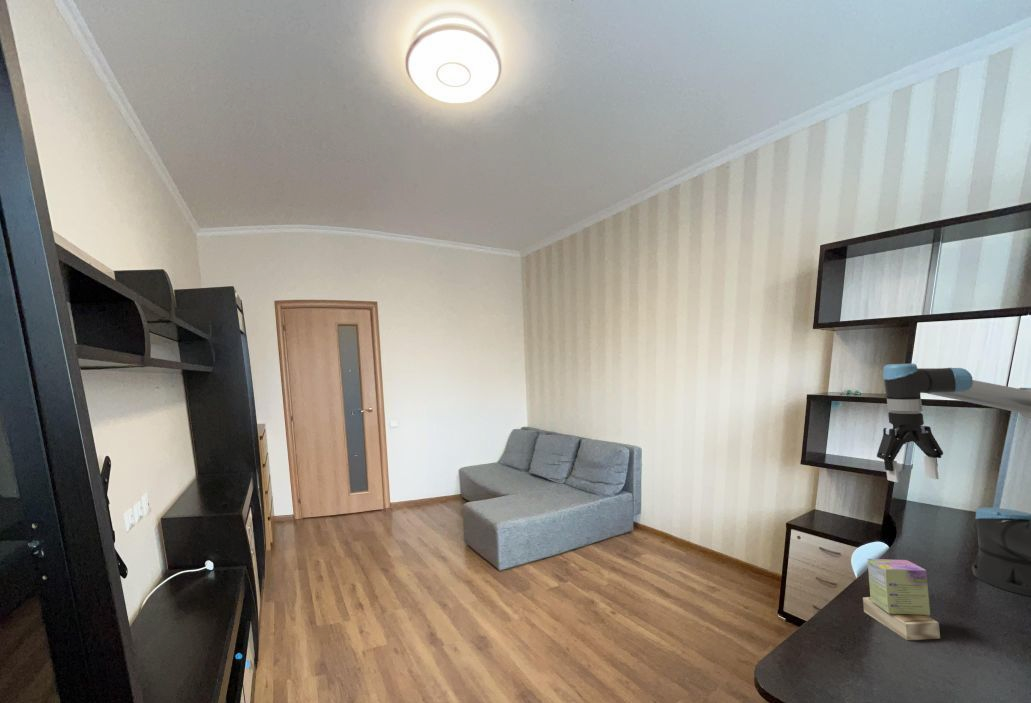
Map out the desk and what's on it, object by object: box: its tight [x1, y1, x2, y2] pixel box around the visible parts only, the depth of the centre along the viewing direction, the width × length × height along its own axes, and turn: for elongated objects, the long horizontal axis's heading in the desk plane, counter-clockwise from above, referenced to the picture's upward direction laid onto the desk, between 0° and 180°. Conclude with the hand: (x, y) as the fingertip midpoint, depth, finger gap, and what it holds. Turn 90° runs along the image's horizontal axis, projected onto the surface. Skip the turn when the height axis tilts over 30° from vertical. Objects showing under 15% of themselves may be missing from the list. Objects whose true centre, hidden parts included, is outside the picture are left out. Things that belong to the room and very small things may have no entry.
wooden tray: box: [862, 596, 941, 641], centre depth 98 cm, size 9×11×4 cm
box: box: [867, 558, 931, 616], centre depth 98 cm, size 10×6×12 cm, turn 85°
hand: (912, 479), depth 112 cm, fingers open, 13 cm apart
